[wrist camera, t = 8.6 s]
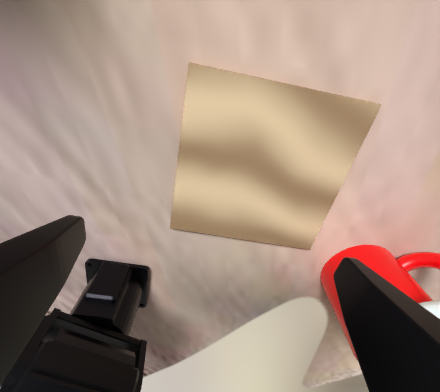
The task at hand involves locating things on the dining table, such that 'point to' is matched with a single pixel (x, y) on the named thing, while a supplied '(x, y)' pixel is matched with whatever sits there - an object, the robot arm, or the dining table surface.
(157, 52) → the dining table surface
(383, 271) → the mug
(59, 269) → the robot arm
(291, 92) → the mat
